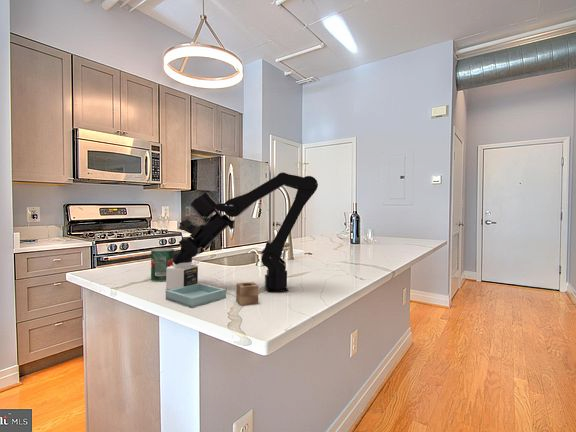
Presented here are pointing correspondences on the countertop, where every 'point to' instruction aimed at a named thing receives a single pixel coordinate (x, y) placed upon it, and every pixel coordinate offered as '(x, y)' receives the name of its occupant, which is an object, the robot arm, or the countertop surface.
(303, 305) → the countertop surface
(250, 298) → the brown open box
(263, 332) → the countertop surface
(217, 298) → the tray
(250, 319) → the countertop surface
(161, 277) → the canned tomato
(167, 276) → the medicine bottle
